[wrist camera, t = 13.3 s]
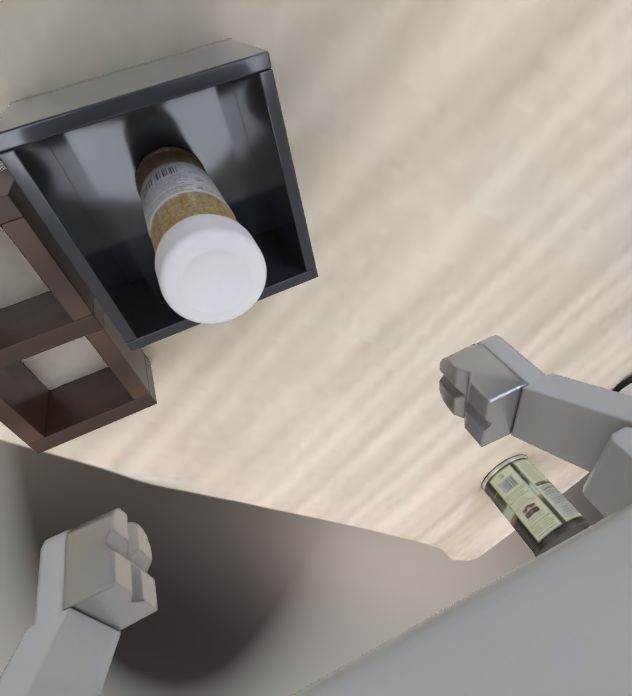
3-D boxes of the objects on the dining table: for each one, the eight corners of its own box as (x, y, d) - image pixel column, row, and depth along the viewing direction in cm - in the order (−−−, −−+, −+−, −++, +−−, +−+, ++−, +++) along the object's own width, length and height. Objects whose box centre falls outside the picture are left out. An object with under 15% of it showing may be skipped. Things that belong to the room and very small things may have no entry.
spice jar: (157, 226, 29) (190, 343, 19) (119, 160, 26) (136, 260, 16) (220, 200, 29) (282, 301, 20) (190, 131, 26) (247, 212, 17)
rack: (-148, 218, 23) (-191, 259, 20) (20, 164, 24) (7, 194, 21) (43, 406, 34) (38, 454, 31) (150, 362, 36) (157, 403, 32)
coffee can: (508, 486, 85) (563, 552, 75) (472, 493, 80) (526, 565, 70) (537, 451, 80) (601, 517, 70) (501, 457, 75) (564, 528, 65)
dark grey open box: (9, 102, 23) (-16, 137, 17) (229, 37, 25) (268, 50, 19) (124, 289, 31) (131, 351, 26) (281, 230, 33) (318, 276, 28)
